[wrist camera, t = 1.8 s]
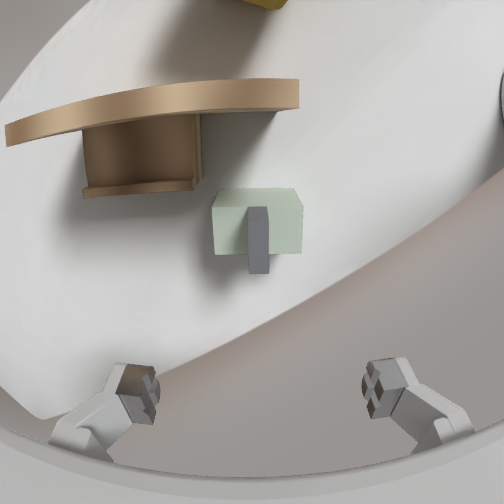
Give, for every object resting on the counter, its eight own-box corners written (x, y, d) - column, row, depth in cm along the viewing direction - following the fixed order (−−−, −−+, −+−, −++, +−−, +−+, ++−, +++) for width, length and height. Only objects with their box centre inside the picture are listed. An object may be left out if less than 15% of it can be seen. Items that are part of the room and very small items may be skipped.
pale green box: (293, 187, 29) (310, 220, 20) (292, 227, 30) (307, 273, 22) (219, 188, 29) (205, 221, 20) (221, 229, 30) (210, 275, 22)
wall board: (277, 95, 25) (299, 79, 13) (277, 175, 28) (297, 222, 16) (92, 113, 25) (4, 125, 13) (99, 185, 28) (22, 233, 16)
